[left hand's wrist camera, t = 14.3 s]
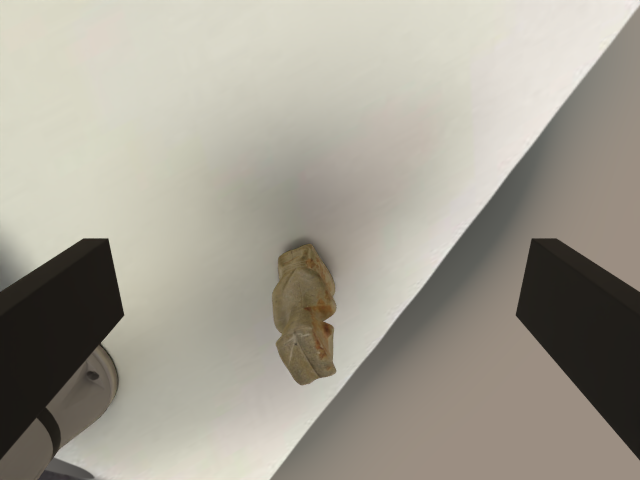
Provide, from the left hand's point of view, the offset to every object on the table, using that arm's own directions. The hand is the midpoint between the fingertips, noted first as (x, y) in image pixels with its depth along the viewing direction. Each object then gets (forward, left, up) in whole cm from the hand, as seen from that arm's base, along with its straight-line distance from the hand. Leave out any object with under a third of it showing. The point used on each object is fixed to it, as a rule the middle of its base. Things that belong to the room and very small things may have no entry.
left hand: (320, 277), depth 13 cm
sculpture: (-12, -5, -28) cm, 31 cm away
